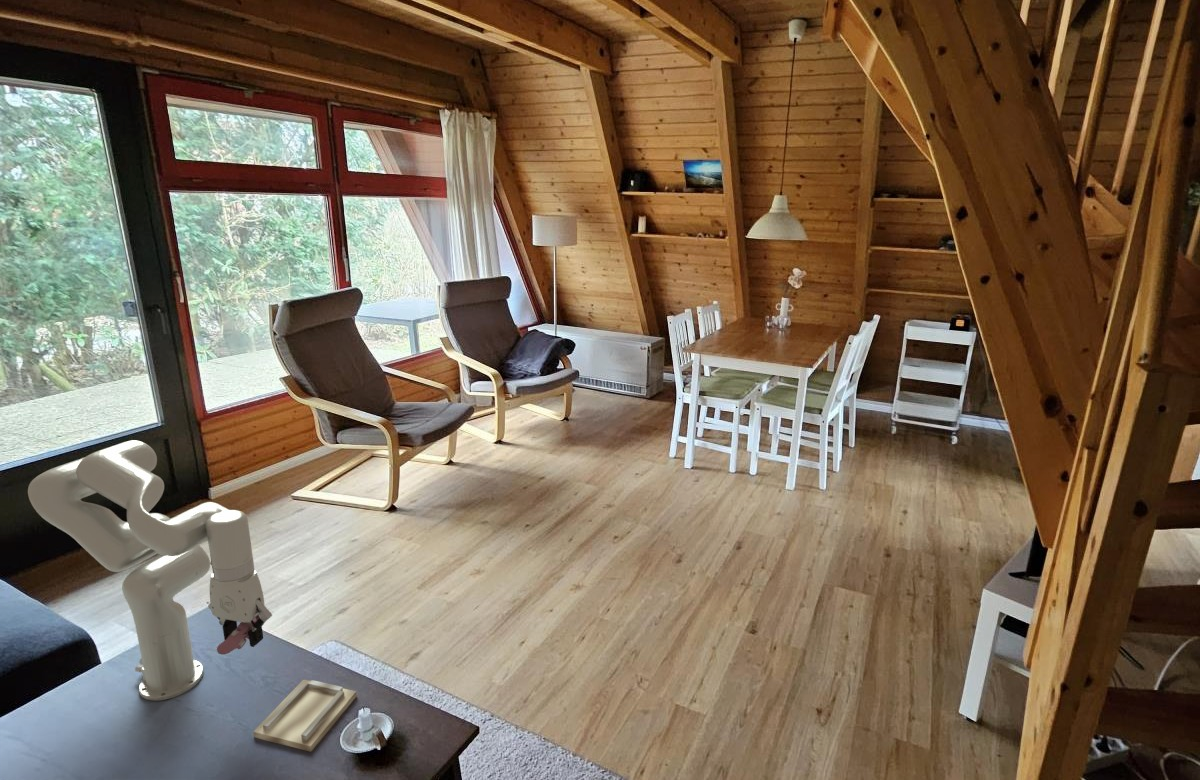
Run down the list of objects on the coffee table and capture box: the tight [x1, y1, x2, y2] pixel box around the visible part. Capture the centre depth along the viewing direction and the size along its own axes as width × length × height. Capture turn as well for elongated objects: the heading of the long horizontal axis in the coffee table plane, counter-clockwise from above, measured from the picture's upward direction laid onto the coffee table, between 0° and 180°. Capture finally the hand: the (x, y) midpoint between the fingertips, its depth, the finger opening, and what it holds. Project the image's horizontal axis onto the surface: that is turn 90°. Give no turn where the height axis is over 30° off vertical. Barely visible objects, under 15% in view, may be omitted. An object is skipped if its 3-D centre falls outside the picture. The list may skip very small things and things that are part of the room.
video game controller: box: [216, 618, 264, 655], centre depth 136 cm, size 10×5×7 cm, turn 168°
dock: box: [252, 679, 357, 753], centre depth 139 cm, size 14×16×3 cm
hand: (244, 639), depth 137 cm, fingers closed on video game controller, 5 cm apart
